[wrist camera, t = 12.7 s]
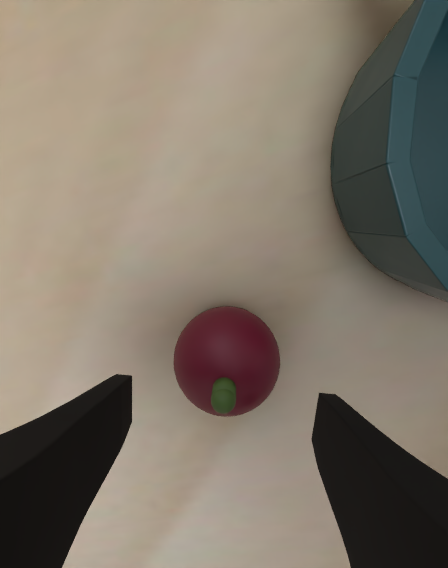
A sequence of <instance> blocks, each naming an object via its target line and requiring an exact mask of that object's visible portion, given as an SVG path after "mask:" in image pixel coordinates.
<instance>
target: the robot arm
mask: <svg viewBox="0 0 448 568" xmlns="http://www.w3.org/2000/svg"><path fill="white" fill-rule="evenodd" d="M131 423H132V376H130V375H119V374H116V375H114V376H112V377H110V378H109V379H107V380H105V381H103V382H102V383H100V384H98V385H97V386H95V387H93V388H92V389H90V390H88V391H86V392H85V393H83V394H81V395H80V396H78V397H76V398H75V399H73V400H71V401H69V402H67V403H65V404H64V405H62V406H60V407H58V408H56V409H54V410H52V411H51V412H49V413H47V414H45V415H43V416H41V417H39V418H37V419H35V420H33V421H30V422H28V423H26V424H24V425H22V426H19V427H17V428H15V429H13V430H10V431H8V432H6V433H3V434H1V435H0V568H62V566H63V564H64V561H65V559H66V557H67V554H68V552H69V550H70V548H71V545H72V543H73V541H74V539H75V536H76V534H77V532H78V529H79V527H80V525H81V523H82V521H83V519H84V517H85V515H86V513H87V511H88V509H89V507H90V505H91V503H92V502H93V500H94V498H95V496H96V494H97V492H98V491H99V489H100V487H101V485H102V483H103V481H104V480H105V478H106V476H107V474H108V472H109V470H110V469H111V467H112V465H113V463H114V461H115V459H116V457H117V456H118V454H119V452H120V450H121V448H122V446H123V443H124V441H125V438H126V436H127V433H128V431H129V428H130V425H131ZM312 443H313V448H314V453H315V457H316V462H317V466H318V469H319V472H320V475H321V478H322V481H323V484H324V487H325V490H326V493H327V495H328V498H329V501H330V504H331V507H332V510H333V512H334V515H335V518H336V521H337V524H338V527H339V529H340V532H341V535H342V538H343V541H344V545H345V548H346V551H347V554H348V558H349V562H350V566H351V568H448V479H447V478H445V477H444V476H442V475H441V474H439V473H438V472H436V471H435V470H433V469H432V468H430V467H429V466H427V465H426V464H424V463H423V462H421V461H420V460H418V459H417V458H415V457H414V456H412V455H411V454H410V453H408V452H407V451H406V450H404V449H403V448H402V447H400V446H399V445H398V444H396V443H395V442H394V441H392V440H391V439H390V438H388V437H387V436H386V435H385V434H383V433H382V432H381V431H379V430H378V429H377V428H376V427H375V426H373V425H372V424H371V423H370V422H368V421H367V420H366V419H365V418H364V417H363V416H361V415H360V414H359V413H358V412H357V411H355V410H354V409H353V408H352V407H351V406H350V405H348V404H347V403H346V402H345V401H343V400H342V399H341V398H340V397H338V396H337V395H336V394H326V393H319V397H318V403H317V409H316V415H315V422H314V428H313V434H312Z"/></svg>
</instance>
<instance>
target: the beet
mask: <svg viewBox="0 0 448 568" xmlns="http://www.w3.org/2000/svg"><path fill="white" fill-rule="evenodd" d="M279 368H280V355H279V349H278V345H277V342H276V340H275V337H274V335H273V333H272V332H271V330H270V329H269V327H268V326H267V325H266V324H265V323H264V322H263V321H262V320H261V319H260V318H259V317H257V316H256V315H254V314H253V313H251V312H249V311H247V310H244V309H241V308H237V307H229V306H226V307H216V308H212V309H209V310H207V311H205V312H203V313H201V314H199V315H198V316H196V317H195V318H194V319H192V320H191V321H190V322H189V323H188V324H187V326H186V327H185V328H184V330H183V331H182V333H181V334H180V336H179V338H178V341H177V344H176V347H175V352H174V371H175V375H176V379H177V382H178V384H179V386H180V388H181V390H182V391H183V393H184V394H185V396H186V397H187V398H188V399H189V400H190V401H191V402H192V403H193V404H194V405H195V406H197V407H198V408H200V409H201V410H203V411H205V412H207V413H210V414H213V415H217V416H237V415H241V414H244V413H246V412H249V411H251V410H253V409H255V408H256V407H257V406H259V405H260V404H261V403H262V402H263V401H264V400H265V399H266V398H267V397H268V396H269V394H270V393H271V391H272V390H273V388H274V386H275V383H276V381H277V378H278V375H279Z"/></svg>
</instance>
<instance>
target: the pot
mask: <svg viewBox="0 0 448 568" xmlns="http://www.w3.org/2000/svg"><path fill="white" fill-rule="evenodd" d="M331 181H332V189H333V194H334V200H335V204H336V207H337V210H338V213H339V216H340V219H341V221H342V223H343V225H344V227H345V229H346V231H347V233H348V235H349V237H350V238H351V240H352V241H353V243H354V244H355V245H356V247H357V248H358V250H359V251H360V252H361V253H362V254H363V255H364V256H365V257H366V258H367V259H368V260H369V261H370V262H371V263H372V264H373V265H374V266H375V267H377V268H378V269H379V270H381V271H382V272H384V273H386V274H387V275H389V276H391V277H392V278H394V279H396V280H398V281H400V282H403V283H404V284H406V285H408V286H410V287H412V288H413V289H415V290H418V291H420V292H423V293H426V294H428V295H431V296H433V297H436V298H439V299H441V300H444V301H446V302H448V0H414V2H413V3H412V4H411V5H410V7H409V8H408V9H407V10H406V12H405V13H404V14H403V15H402V17H401V18H400V19H399V20H398V22H397V23H396V24H395V25H394V27H393V28H392V29H391V31H390V32H389V33H388V34H387V36H386V37H385V38H384V40H383V41H382V42H381V43H380V45H379V46H378V47H377V48H376V50H375V51H374V52H373V54H372V55H371V56H370V57H369V59H368V60H367V61H366V62H365V64H364V65H363V66H362V68H361V69H360V70H359V71H358V73H357V75H356V77H355V80H354V82H353V84H352V86H351V88H350V90H349V92H348V94H347V97H346V99H345V101H344V103H343V106H342V108H341V111H340V115H339V118H338V121H337V124H336V128H335V133H334V138H333V144H332V153H331Z"/></svg>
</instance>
